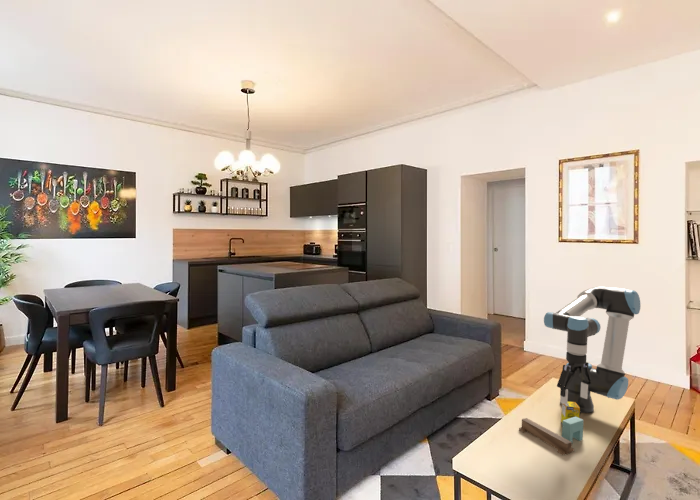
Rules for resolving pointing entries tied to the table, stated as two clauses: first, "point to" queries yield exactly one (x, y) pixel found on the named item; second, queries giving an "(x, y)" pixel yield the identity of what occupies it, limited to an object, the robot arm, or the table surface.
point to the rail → (547, 436)
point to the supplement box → (569, 411)
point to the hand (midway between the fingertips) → (573, 400)
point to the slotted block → (572, 429)
